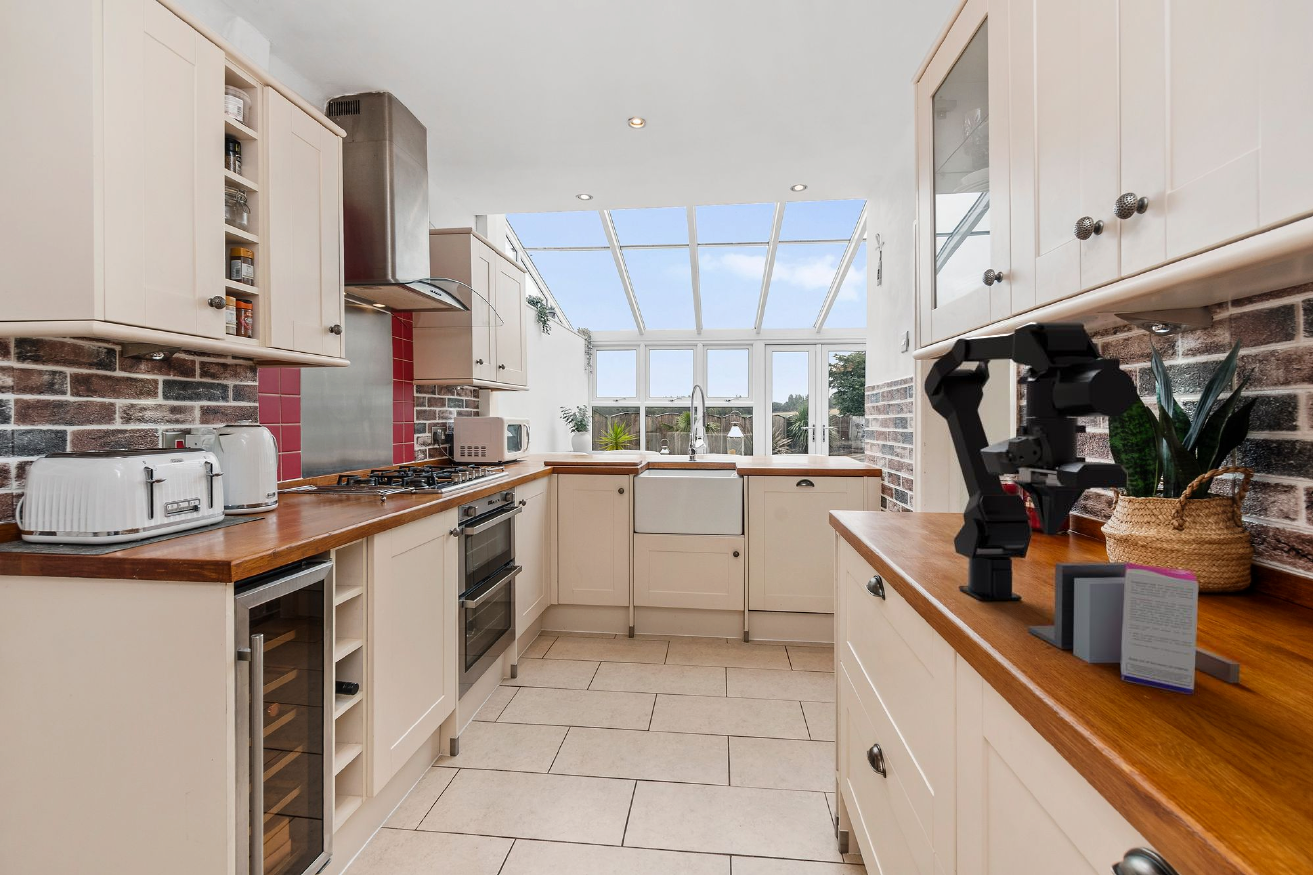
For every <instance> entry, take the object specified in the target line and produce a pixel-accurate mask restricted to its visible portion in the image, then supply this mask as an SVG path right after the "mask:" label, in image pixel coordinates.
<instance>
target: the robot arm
mask: <svg viewBox="0 0 1313 875" xmlns="http://www.w3.org/2000/svg"><path fill="white" fill-rule="evenodd" d="M999 360H1001V361H1003V360H1011V361H1013V363H1015V364H1018V365H1019V364H1020V365H1022V366H1023V365H1024V366H1027V367H1028V368H1027V370H1026V372H1025V373H1024V374H1022V375H1021V376H1020V377H1018V379H1017V381H1016V383H1017V385H1019V386H1025V385H1026V390H1025V391H1026V394H1025V395H1026V397H1025V400H1026V401H1025V417H1026V418H1025V424H1020V425H1018V427H1017V428H1016V435H1015V437H1012V438H1008V439H1005V440H1002V441H999V442H997V443H994V444H992V445H990V444H989V440H988V438H987V435H986V432H985V429H984V426H983V425H984V424H983V423H982V420H981V417H980V416H981V415H980V413H979V409H980V406H981V402H982V400H983V398H984V390H983V389H984V387H985V385H986V384H987V382H988V381H989V379H990V377H991V376H990V369H989V364H990V362H991V361H999ZM969 362H970V363H978V364H977V366H976V367H975V369H971V368H960V367H961V366H962V365H963V363H969ZM1120 363H1121V361H1120V358H1118V357H1117V358H1115V357H1114V358H1113V357H1111V358H1110V357H1109V358H1105V357H1104V356H1103V355H1102V354H1101V352H1100V351H1099V349H1098V347H1097V346H1096V344H1095V342H1094V341H1093V339H1092V338H1091V336H1090V334H1089V333H1088V332H1087V330H1086V329H1085V325H1084V324H1083V323H1081V322H1077V321H1071V322H1070V321H1053V322H1052V321H1038V322H1037V321H1036V322H1035V321H1034V322H1033V321H1032V322H1028V323H1026V324H1023V325H1021V326H1018V327H1016V328H1015V329H1014V331H1013V332H1011V333H1005V334H997V335H985V336H964V337H960V338H958V339H957V340H955V342H954V344H953V345H952V348H951V350H949V351H948V352H947V353H946V354H943V355H942V356H941V357H940V358H939V359H937V360H936V361H935V362H934V363H933V365H932V367H931V368H930V370H929V372H928V374H927V376H926V378H925V381H924V392H925V395H926V396H927V399H928V400H929V403H930V406H931V408H932V410H934V411H935V412H936V413H937V414H939V415H940V416H941V417H942V418H943V419H944V420H946V423H947V426H948V429H949V433H950V437H951V440H952V443H953V446H954V450H955V453H956V457H957V460H958V463H959V467H960V470H961V474H962V476H963V477H962V478H963V481H964V484H965V488H966V491H967V494H968V501H967V503H966V506H965V509H964V511H963V513H962V514H963V515H962V516H963V521H964V524H963V525H962V527H961V529H959V531H958V533H957V534H956V536H955V537H954V538H953V543H954V544H953V546H954V549H955V553H956V554H958V555H961V556H964V557H966V558H968V579H967V580H968V581H967V582H968V585H959V586H958V589H959V590H960V591H962V592H964V593H966V594H968V595H970V596H972V597H973V598H975V599H977V600H980V601H1021V600H1022V599H1023V598H1022V595H1020V594H1018V593H1015V592H1013V576H1014V574H1013V572H1014V571H1013V559H1014V558H1015V559H1017V558H1018V559H1026V557H1027V553H1028V549H1029V546H1030V544H1031V543H1030V542H1031V538H1032V536H1033V528H1032V524H1031V523H1030V521H1031V520H1032V519H1031V517H1030V515H1029V514H1028V512H1027V509H1026V505H1025V500H1024V499H1023V497H1022V496H1021V495H1020V494H1010V493H1009V492H1007V491H1006V489H1004V486H1003V483H1002V481H1001V476H1002V477H1004V476H1005V475H1018V480H1013V483H1014V484H1015V485H1017V486H1019V487H1020V488H1021V489H1023V490H1024V491H1025V492H1026V493H1027V494H1028V495H1029V498H1030V499H1031V501H1032V504H1033V507H1034V510H1035V512H1036V515H1037V518H1038V521H1039V524H1040V527H1041V530H1042V533H1043V534H1044V535H1045V536H1049V537H1052V536H1053V537H1055V536H1056V535H1057V534H1058V532H1059V531H1060V528H1061V527H1062V526H1063V524H1064V522H1065V521H1066V519H1067V518H1068V516H1069V515H1070V513H1071V511H1072V509H1073V508H1074V507H1075V505H1076V504H1077V503H1078V502H1079V500H1080V499H1081V497H1082V496H1083V494H1084V493H1085V492H1086V491H1088V490H1091V489H1104V488H1105V489H1113V488H1115V489H1122V488H1123V489H1124V488H1125V489H1127V488H1128V487H1129V483H1128V482H1129V480H1128V478H1129V471H1128V470H1127V469H1126V468H1125V467H1124V466H1123V465H1122V464H1121V463H1112V462H1104V461H1103V462H1100V461H1087V462H1086V460H1087V459H1086V456H1085V457H1084V456H1078V437H1079V435H1078V434H1086V433H1087V425H1086V424H1085V425H1083V424H1081V425H1080V424H1079V418H1114V417H1118V416H1119V417H1120V416H1123V415H1124V414H1126V413H1128V411H1130V410H1131V408H1132V407H1133V406H1134V405H1135V402H1136V399H1137V396H1138V387H1137V386H1136V385H1135V382H1134V380H1133V378H1132V376H1131V375H1130V374H1129V373H1127V371H1125V370H1124V369H1122V368H1120V366H1121V364H1120Z"/></svg>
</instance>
